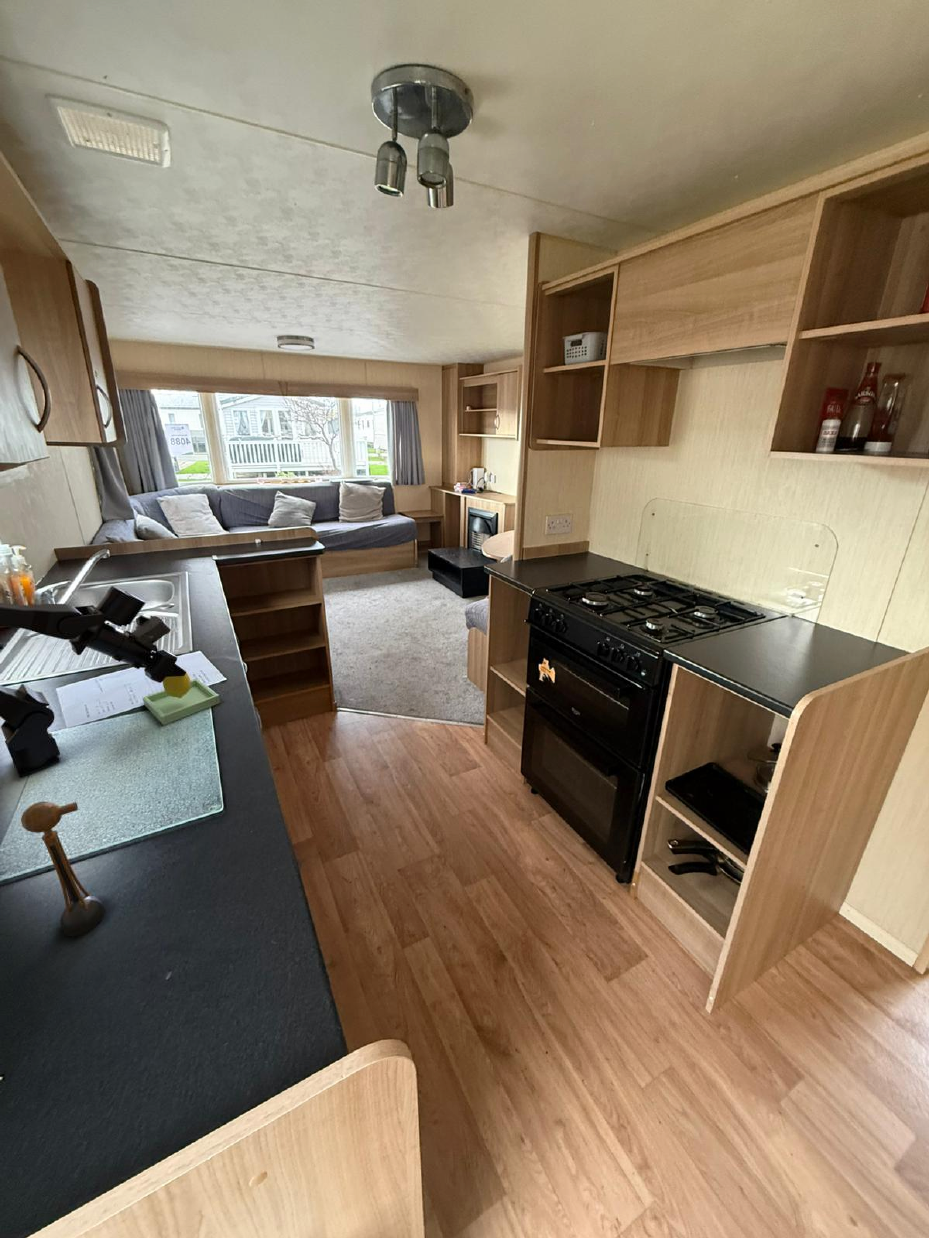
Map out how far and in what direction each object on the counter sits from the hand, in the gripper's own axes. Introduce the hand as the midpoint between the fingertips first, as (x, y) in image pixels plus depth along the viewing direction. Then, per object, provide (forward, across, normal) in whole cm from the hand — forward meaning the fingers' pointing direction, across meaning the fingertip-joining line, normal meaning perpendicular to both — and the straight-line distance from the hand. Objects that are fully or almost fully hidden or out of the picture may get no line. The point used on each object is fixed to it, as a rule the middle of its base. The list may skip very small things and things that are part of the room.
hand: (180, 670), depth 117 cm
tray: (+6, +1, +7) cm, 9 cm away
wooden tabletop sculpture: (-17, -46, +31) cm, 58 cm away
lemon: (+4, 0, +6) cm, 7 cm away
